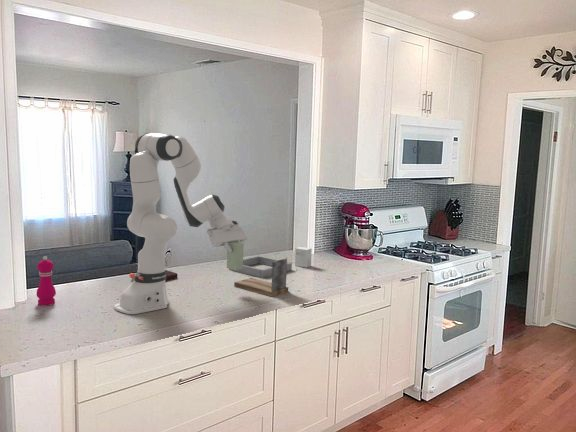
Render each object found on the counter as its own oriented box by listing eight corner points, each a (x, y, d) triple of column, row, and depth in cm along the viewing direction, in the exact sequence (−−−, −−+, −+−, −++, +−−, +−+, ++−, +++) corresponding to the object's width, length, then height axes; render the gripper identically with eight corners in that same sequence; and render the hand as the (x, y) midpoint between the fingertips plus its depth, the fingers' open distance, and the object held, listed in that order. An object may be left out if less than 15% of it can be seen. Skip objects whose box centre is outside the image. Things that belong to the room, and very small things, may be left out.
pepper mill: (43, 307, 202) (42, 259, 199) (33, 303, 206) (31, 256, 203) (59, 303, 208) (58, 256, 205) (49, 299, 212) (48, 253, 209)
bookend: (272, 296, 228) (273, 262, 226) (234, 286, 243) (235, 254, 241) (288, 291, 238) (289, 258, 236) (250, 281, 252) (251, 250, 250)
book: (177, 279, 254) (177, 272, 253) (147, 286, 238) (147, 280, 238) (161, 274, 261) (161, 268, 260) (130, 282, 245) (130, 275, 245)
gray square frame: (262, 278, 260) (262, 270, 259) (228, 269, 275) (228, 262, 275) (291, 269, 280) (292, 262, 279) (258, 262, 295) (258, 255, 294)
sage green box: (236, 270, 229) (236, 244, 228) (226, 267, 233) (227, 242, 231) (242, 268, 233) (243, 243, 231) (233, 266, 236) (234, 241, 235)
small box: (311, 266, 290) (312, 248, 289) (306, 267, 286) (307, 249, 284) (299, 264, 295) (300, 246, 293) (294, 265, 290) (295, 247, 289)
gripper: (209, 225, 226) (223, 249, 222) (240, 221, 242) (254, 244, 238) (202, 233, 230) (216, 257, 225) (233, 229, 246) (247, 251, 241)
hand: (236, 250), depth 231 cm, fingers closed on sage green box, 4 cm apart
